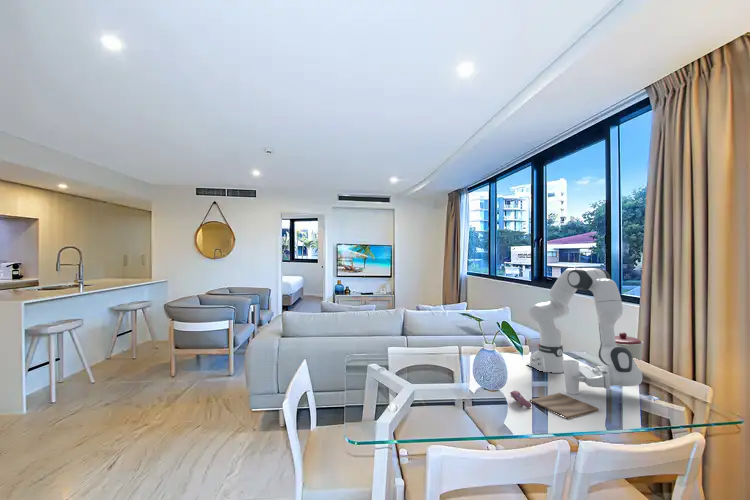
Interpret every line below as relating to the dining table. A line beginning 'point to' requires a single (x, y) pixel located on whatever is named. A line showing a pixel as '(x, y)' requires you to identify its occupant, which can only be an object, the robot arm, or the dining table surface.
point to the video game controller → (520, 399)
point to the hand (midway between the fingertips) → (569, 375)
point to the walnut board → (564, 405)
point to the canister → (630, 344)
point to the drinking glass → (571, 376)
